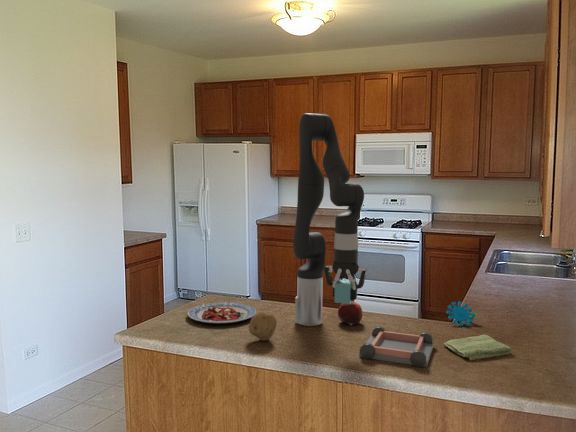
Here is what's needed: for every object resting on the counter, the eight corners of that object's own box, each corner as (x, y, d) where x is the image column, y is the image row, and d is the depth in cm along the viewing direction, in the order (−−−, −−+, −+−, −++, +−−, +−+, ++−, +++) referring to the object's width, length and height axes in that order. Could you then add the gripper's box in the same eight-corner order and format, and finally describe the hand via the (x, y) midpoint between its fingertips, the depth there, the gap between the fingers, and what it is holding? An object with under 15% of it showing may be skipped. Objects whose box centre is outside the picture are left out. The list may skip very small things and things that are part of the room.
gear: (448, 322, 187) (447, 298, 193) (443, 329, 191) (442, 305, 197) (479, 327, 186) (477, 303, 192) (473, 334, 191) (471, 310, 197)
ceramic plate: (175, 324, 188) (175, 316, 187) (204, 305, 213) (204, 298, 212) (243, 330, 182) (243, 322, 181) (264, 310, 206) (264, 302, 206)
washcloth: (440, 347, 167) (441, 337, 167) (486, 342, 173) (487, 332, 172) (465, 362, 155) (466, 352, 155) (514, 356, 160) (515, 346, 160)
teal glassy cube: (334, 302, 164) (334, 283, 163) (339, 297, 169) (340, 279, 169) (349, 304, 162) (350, 285, 161) (354, 299, 168) (355, 281, 167)
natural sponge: (251, 346, 166) (251, 316, 165) (246, 337, 174) (246, 308, 173) (279, 344, 168) (279, 314, 167) (272, 335, 177) (272, 306, 176)
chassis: (358, 358, 157) (358, 344, 156) (372, 338, 174) (372, 325, 174) (426, 368, 150) (426, 353, 149) (433, 346, 167) (434, 333, 167)
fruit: (350, 329, 184) (351, 301, 182) (332, 322, 191) (332, 296, 190) (368, 324, 189) (368, 297, 188) (349, 317, 197) (349, 292, 195)
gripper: (320, 247, 163) (319, 300, 165) (365, 250, 158) (364, 305, 160) (327, 243, 170) (326, 294, 172) (371, 246, 165) (369, 299, 166)
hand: (344, 299), depth 166 cm, fingers closed on teal glassy cube, 5 cm apart
